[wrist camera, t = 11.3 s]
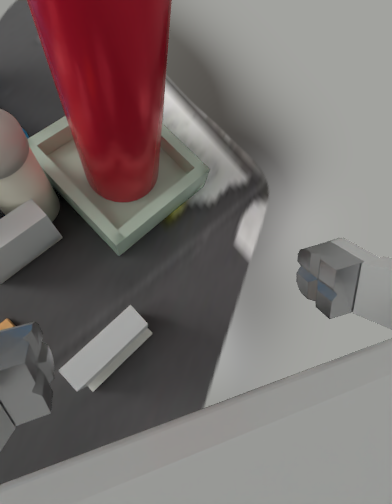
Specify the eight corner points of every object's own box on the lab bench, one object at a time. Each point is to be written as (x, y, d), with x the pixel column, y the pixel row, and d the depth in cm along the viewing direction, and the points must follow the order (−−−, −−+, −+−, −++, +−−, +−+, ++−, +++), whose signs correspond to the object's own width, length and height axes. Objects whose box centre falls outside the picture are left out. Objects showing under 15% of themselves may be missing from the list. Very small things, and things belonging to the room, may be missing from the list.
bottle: (172, 172, 25) (262, -398, 6) (121, 216, 23) (19, -393, 4) (123, 128, 25) (60, -527, 6) (69, 168, 24) (-232, -569, 5)
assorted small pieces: (-114, 256, 21) (-261, 202, 13) (122, 105, 27) (113, 11, 20) (41, 442, 19) (-27, 501, 11) (254, 234, 25) (300, 185, 18)
